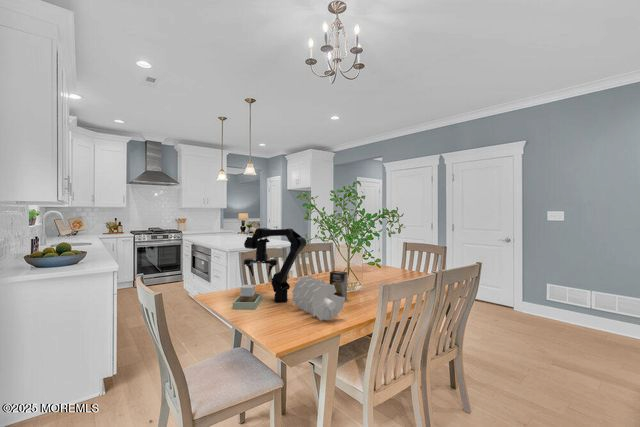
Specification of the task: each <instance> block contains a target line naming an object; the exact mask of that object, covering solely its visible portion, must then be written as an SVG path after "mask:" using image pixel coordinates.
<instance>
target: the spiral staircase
mask: <svg viewBox="0 0 640 427" xmlns="http://www.w3.org/2000/svg"><path fill="white" fill-rule="evenodd" d="M335 292H336V289H335V286H334V285H331V284H330V282H328V281H327V282H326V281H324V280H323V279H320V278H319V279H316V278H315V277H314V276H313V277H312V276H310V275H309V274H307V275H306V276H300V278H299V280H297V281H295V282H294V287H293V288H292V290H291V293H292V302H294V306H297V307H298V308H299V309H301V311H303V310H304V311H305V312H306V313H308V314H310V315H311V316H312V317H316V318H317V319H319V321H321V322H322V321H331V320H332V319H333V318H336V317H338V315H339V314H340V312H341V311H342V310H343V308H344V304H345V302H346V300H345V298H344V297H338V296H337V295H334V293H335Z"/></svg>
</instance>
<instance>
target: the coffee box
mask: <svg viewBox="0 0 640 427" xmlns="http://www.w3.org/2000/svg"><path fill="white" fill-rule="evenodd" d="M329 284H331V285H334V286H335V289H336V292H335V293H334V295H337V296H338V297H344V298H345V301H346V300H347V299H348V271H342V270H341V271H340V270H331V271H330V272H329Z"/></svg>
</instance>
